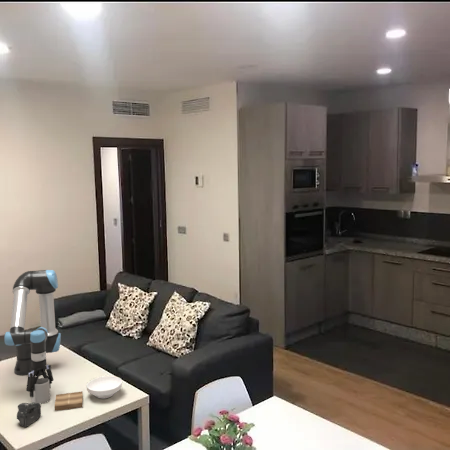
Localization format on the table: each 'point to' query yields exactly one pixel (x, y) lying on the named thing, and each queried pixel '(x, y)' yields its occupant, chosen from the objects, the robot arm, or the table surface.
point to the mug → (42, 390)
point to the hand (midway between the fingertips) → (40, 398)
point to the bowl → (104, 386)
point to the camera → (28, 413)
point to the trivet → (68, 401)
